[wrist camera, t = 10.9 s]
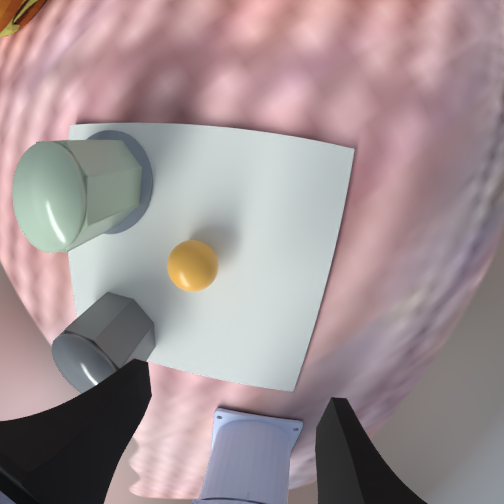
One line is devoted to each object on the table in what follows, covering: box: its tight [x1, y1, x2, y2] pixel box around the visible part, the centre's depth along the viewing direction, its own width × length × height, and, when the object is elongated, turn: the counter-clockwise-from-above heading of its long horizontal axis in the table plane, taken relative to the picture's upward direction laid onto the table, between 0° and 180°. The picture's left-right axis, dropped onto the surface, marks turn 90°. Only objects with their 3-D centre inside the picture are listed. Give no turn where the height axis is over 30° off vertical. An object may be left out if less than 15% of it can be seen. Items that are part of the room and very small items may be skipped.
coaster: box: [86, 130, 153, 234], centre depth 17 cm, size 7×7×1 cm
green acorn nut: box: [12, 140, 142, 253], centre depth 14 cm, size 6×6×6 cm
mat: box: [68, 123, 355, 392], centre depth 19 cm, size 18×19×1 cm
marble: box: [167, 240, 219, 292], centre depth 17 cm, size 3×3×3 cm
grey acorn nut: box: [52, 292, 155, 393], centre depth 18 cm, size 6×6×6 cm
